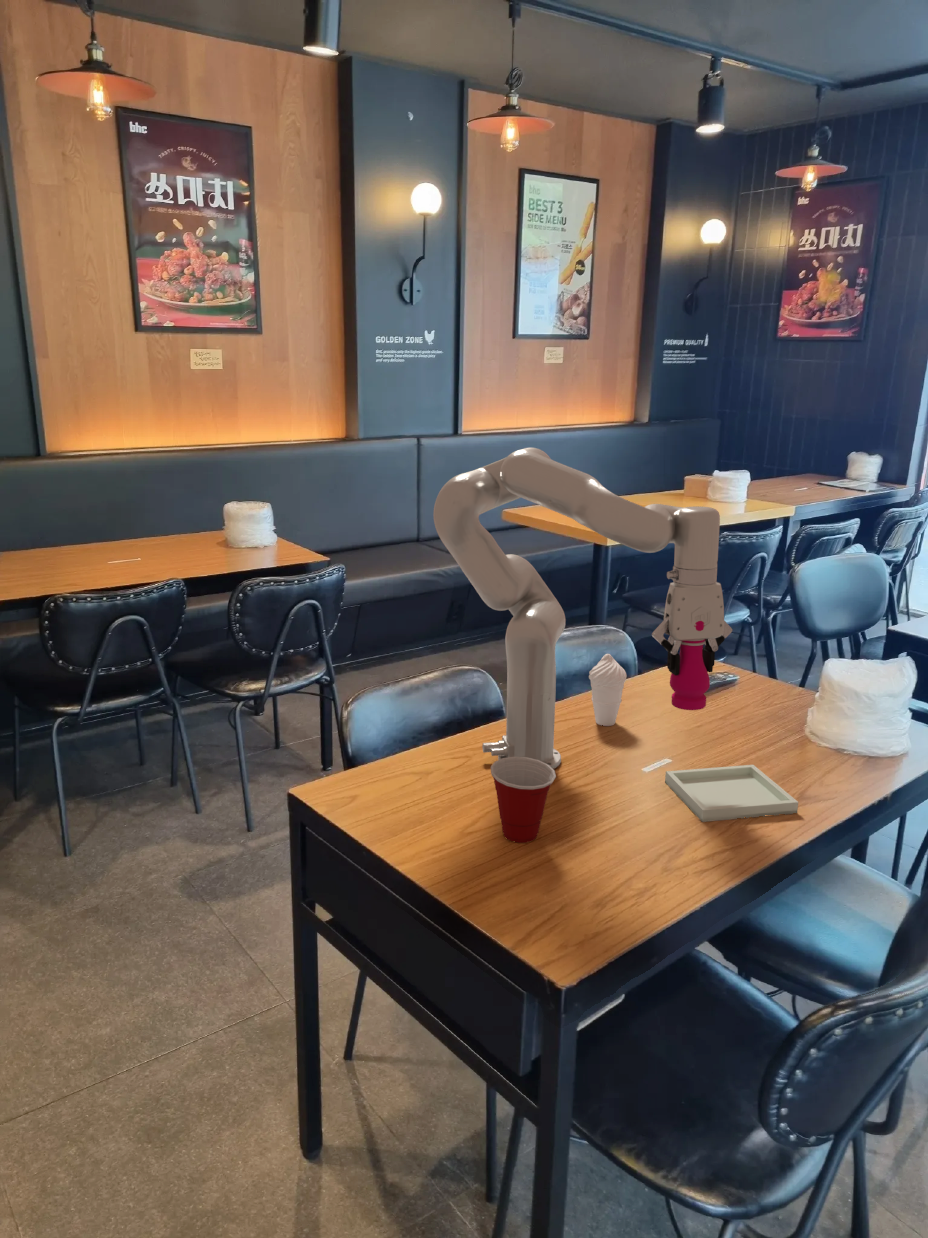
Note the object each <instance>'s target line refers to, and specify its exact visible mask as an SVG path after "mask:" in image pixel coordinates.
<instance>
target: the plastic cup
mask: <svg viewBox="0 0 928 1238" xmlns="http://www.w3.org/2000/svg"><path fill="white" fill-rule="evenodd" d="M490 773H491V776H492V777H493V781H494V782H493V783H494V787H495V791H496V797H497V804H498V813H499V818H500V819H499V820H500V821H501V829H502V833H503V837H504V838H505V837H506V838H507V839H506V838H505V839H506V840H507V841H511V842H512V841H515V842H514V843H517V842H518V843H517V844H520V843H521V844H524V843H525V844H527V843H529V842H530V841H531V842H533V841H535V840H536V839H537V837H538V834H539V830H540V826H541V822H542V819H543V816H544V815H543V814H544V810H545V807H546V803H547V798H548V794H549V792H550V791H549V790H550V788H551V785H552V784H553V782H554V780H555V779H556V778H557V775H556V771H555V769H552V768H551V767H550V766H549V765H548V764H546V763H543V762H541V761H539V760H536V759H531V758H527V757H508V758H502V759H500V760H498V759H497V760H496V761H493V763H492V765H491V766H490Z"/></svg>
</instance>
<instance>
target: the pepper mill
mask: <svg viewBox="0 0 928 1238" xmlns="http://www.w3.org/2000/svg"><path fill="white" fill-rule="evenodd" d="M695 624H696V626H695V625H694V627H696V630H697V631H702V630H703V629H704V626H705V625H704V622H703V621H698V622H696V623H695ZM705 643H706V641H705V639H701V640H688V641H682V642H681V645H680V647H679V655H680V671H679V674H678V675H674V674H673V673H671V672H670V673H671V674H670V676H669V677H670V678H669V686H670V688H671V689H672V690H673V693H672V694H671V705H672V706H673V707H675V708H677V709H679V710H685V711H699V710H702V709H704V708H706V706H707V696H706V694H705V693H707V691H708V690H709V689H710V686H711V684H710V683H711V681H710V676H709V672H707V669H706V667H705V665H704V662H703V657H702V649H703V647H704V645H705Z"/></svg>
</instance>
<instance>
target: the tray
mask: <svg viewBox="0 0 928 1238" xmlns="http://www.w3.org/2000/svg"><path fill="white" fill-rule="evenodd" d="M664 778H665V780H664V783H665V784H666V785H667V786H668V787H669V788H670V789H671V790H672V791H673V792H674V793H675V795H676V796H677V797H678V798H679V799H680V800H681V801H682V803H684V805H686V806H687V807H688V809H690V811H691V812H692V813H693V814H694V815H695V816H696V817H697V818H698V819H699V821H701V822H702V823H705V822H706V823H707V822H716V821H726V820H727V821H728V820H738V819H737V818H741V819H750V818H749V817H752V818H759V816H763V817H766V816H765V815H774V816H780V815H779V814H785V815H794V814H793V813H797V814H798V810H799V809H798V808H799V801H798V800H797V799H795V798H794V797H793V796H792V795H791V794H790V793H788V792H787V791H786V790H785V789H783V788H782V787H781V786H780V785H779V784H777V783H776V782H775V781H774V780H773V779H771V778H770V777H769V776H768V775H767V774H765V773H764V772H763V771H762V770H761V769H759V768H758V767H757V766H756V765H754V764H744V765H733V766H732V765H731V766H719V767H718V766H717V767H716V766H715V767H708V768H707V767H706V768H705V767H704V768H693V769H692V768H691V769H678V770H668V771H665V777H664ZM744 817H746V818H744Z"/></svg>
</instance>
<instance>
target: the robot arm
mask: <svg viewBox="0 0 928 1238" xmlns="http://www.w3.org/2000/svg"><path fill="white" fill-rule="evenodd" d="M521 498H522V499H524V500H526V501H528V502H531V503H534V504H536V505H538V506H541V507H543V508H545V509H548V510H551V511H553V512H555V513H558V514H561V515H563V516H565V517H567V518H570V519H572V520H573V521H575V522H577V523H578V524H580V525H582V526H583V527H585V528H587V529H590V530H591V531H592V532H595V533H597V534H598V535H600V536H603V537H604V538H607V539H608V540H611V541H614V542H616V543H618V544H621V545H624V546H625V547H628V548H631V549H633V550H636V551H639V552H642V553H648V554H651V553H657V552H660V551H661V550H663V549H665V548H666V547H667V546H668V544H674V560H673V561H674V562H673V563H674V564H673V566H672V570H670V571H667V572H666V578H667V579H668V580H672V581H673V582H670V583H669V587H668V590H667V594H666V600H665V606H664V611H663V613H664V614H663V620H662V622H661V623H659V625H658V626H657V627H656V628H655V629H654V630H653V632H652V633H651V636H652V638H654V639H655V640H656V641H657V642H658V643H659V645H660V646H662V647H663V648H664V649H665V650H666V651H667V660H666V662H667V663H666V666H667V669H668V672H670V673H673V674H674V675H678V674H679V671H680V653H679V652H678V651H680V645H681V642H682V641H688V640H701V639H705V641H706V643H705V644H704V646H703V649H702V657H703V662H704V665H705V667H706V669H707V672H708V673H713V669H714V666H715V659H716V652H717V651H718V650H719V647H720V646H721V645H722V644H723V642H724V641H725V639H727V637H728V636H729V635H731V633H732V632H733V629H732V627H731V626H730V625H729V624H728V623H727V622H726V621H725V606H724V596H723V595H724V594H723V588H722V584H721V582H718V581H717V576H718V561H719V543H720V542H719V541H720V540H719V539H720V524H721V523H720V522H721V521H720V520H721V518H720V517H721V516H720V512H719V511H718V510H717V509H716V508H713V507H710V506H685V507H681V506H676V505H675V506H673V505H668V504H661V503H651V504H648V505H645V506H642V505H640V504H639V503H638V504H637V503H636V502H633V501H630V500H629V499H628V500H627V499H625V498H623V497H621V496H619V495H617V494H616V493H613V492H612V491H611V490H608V489H607V488H606V487H604V485H602V483H600V481H599V480H598V479H596V478H595V477H594V476H592V475H590V474H589V473H586V472H584V471H581V470H578V469H575V468H574V467H571V466H568V465H565V464H563V463H561V462H559V461H555V460H554V459H551V457H550V456H549V454H547V453H546V452H545V451H543V450H542V449H540V448H538V447H537V448H536V447H524V448H521V449H518V450H515V451H513V452H511V453H509V454H508V455H507V456H506V457H504V458H502V459H500V460H496V461H494V462H492V463H489V464H487V465H483V466H481V467H479V468H476V469H474V470H470V471H467V472H462V473H460V474H457V475H455V476H453V477H452V478H450V479H449V480H448V481H447V482H446V483H444V485H443V486H442V487H441V489H440V491H439V492H438V494H437V496H436V498H435V502H434V506H433V523H434V527H435V530H436V533H437V535H438V537H439V539H440V540H441V543H442V544H443V545H444V546H445V548H446V550H448V552H449V554H450V555H451V556H452V558H453V559H454V561H456V563H457V564H458V566H459V568H460V570H461V571H462V573H463V574H464V575H465V577H466V578H467V579H468V581H469V582H470V584H471V585H472V586H473V588H474V589H475V591H476V593H477V594H478V595H479V597H480V598H481V600H482V601H483V602H484V604H485V605H486V606H487V607H489V608H491V609H492V610H494V611H499V612H501V611H507V610H508V611H509V612H510V614H511V615H512V616H513V617H511V619H510V620H509V622H508V625H507V628H506V630H505V639H504V640H505V644H504V645H505V655H506V667H507V668H506V670H507V671H506V672H507V673H506V674H507V675H506V678H507V679H506V680H507V681H506V723H505V724H506V731H505V732H506V734H505V735H502V737H501V738H502V739H501V740H497V742H492V741H491V742H482V746H481V747H482V753H484V754H485V753H490V754H491V757H496V756H497V758H498V759H497V761H498V760H500V759H502V758H508V757H527V758H531V759H536V760H539V761H541V762H543V763H546V764H548V765H549V766H550V767H551V768H552V769H553V770H555V769H556V768H557V767H559V766H560V765H561V762H562V756H561V753H560V752H559V751H558V750H557V749H555V748H554V744H555V742H554V741H555V719H556V718H555V717H556V716H555V715H556V692H557V691H556V683H557V667H556V665H557V663H556V646H557V642H558V640H559V639H560V637H561V636H562V634H563V633H564V631H565V628H566V615H565V611H564V609H563V608H562V606H561V604H560V603H559V601H558V599H557V598H556V597H555V595H554V594H553V592H552V591H551V589H550V588H549V587H548V585H547V584H546V582H545V581H544V580H543V578H542V576H541V575H540V574H539V573H538V571H537V570H536V569H535V567H534V566H533V564H531V562H529V561H528V560H527V559H526V558H524V557H522V556H520V555H517V554H513V553H512V554H511V553H510V554H506V553H505V552H504V551H503V550H502V548H501V547H500V546H499V544H498V542H497V541H496V540H495V538H494V537H493V535H492V534H491V533H490V532H489V531H488V530H487V529H486V528H485V527H484V526H483V525H482V524H481V521H480V518H479V517H480V515H482V514H484V513H487V512H489V511H491V510H493V509H495V508H498V507H500V506H503V505H505V504H508V503H511V502H513V501H516V500H518V499H521ZM698 621H703V622H704V625H705V626H704V629H703V630H702V631H697V630H696V627H694V625H695V626H696V624H695V623H696V622H698ZM664 634H666V635H667V636H669V637H668V639H666V638H665V636H664Z"/></svg>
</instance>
